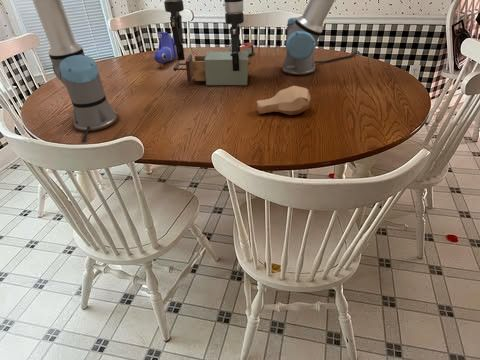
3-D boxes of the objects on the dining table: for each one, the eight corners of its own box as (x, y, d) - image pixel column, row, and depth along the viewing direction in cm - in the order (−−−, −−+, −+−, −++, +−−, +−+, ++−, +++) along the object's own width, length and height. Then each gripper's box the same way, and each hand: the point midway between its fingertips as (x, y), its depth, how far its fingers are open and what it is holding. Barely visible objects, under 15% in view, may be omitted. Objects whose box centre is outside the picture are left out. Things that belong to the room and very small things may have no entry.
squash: (314, 116, 128) (313, 95, 122) (259, 125, 130) (256, 105, 124) (308, 99, 136) (307, 78, 129) (257, 108, 138) (253, 88, 131)
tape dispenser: (245, 68, 177) (264, 54, 190) (245, 58, 174) (264, 44, 186) (216, 62, 185) (237, 49, 197) (215, 52, 181) (236, 39, 194)
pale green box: (206, 85, 156) (204, 59, 150) (209, 76, 165) (207, 51, 159) (247, 85, 156) (247, 59, 149) (247, 76, 165) (247, 51, 158)
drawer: (174, 82, 157) (171, 61, 151) (178, 74, 165) (176, 54, 160) (225, 82, 156) (224, 61, 151) (227, 74, 164) (226, 54, 159)
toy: (167, 63, 198) (147, 69, 175) (163, 31, 191) (141, 33, 169) (184, 63, 195) (166, 69, 173) (180, 30, 189) (161, 32, 166)
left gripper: (167, -3, 147) (175, 55, 161) (160, 3, 137) (169, 64, 151) (185, -3, 147) (192, 54, 161) (179, 2, 136) (187, 64, 150)
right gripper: (227, 6, 153) (230, 57, 166) (222, 19, 134) (226, 75, 147) (244, 6, 153) (246, 57, 166) (242, 18, 134) (244, 75, 147)
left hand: (181, 59), depth 156 cm, fingers closed
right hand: (236, 66), depth 157 cm, fingers closed on pale green box, 11 cm apart
